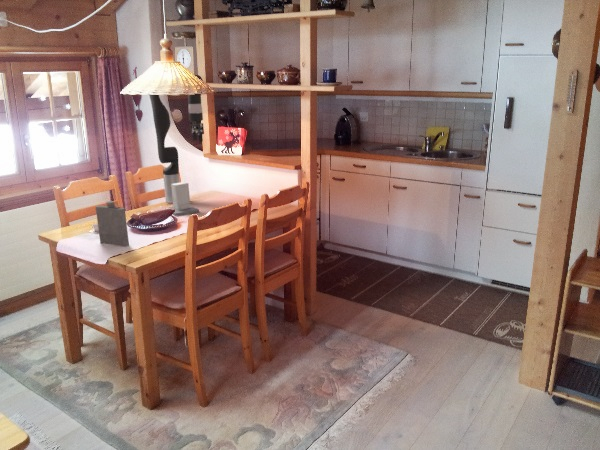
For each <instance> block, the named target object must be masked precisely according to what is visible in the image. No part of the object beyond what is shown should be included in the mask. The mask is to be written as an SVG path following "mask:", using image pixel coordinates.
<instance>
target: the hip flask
mask: <svg viewBox="0 0 600 450" xmlns="http://www.w3.org/2000/svg"><path fill="white" fill-rule="evenodd" d="M105 203H106V205H96V206H95V213H96V219H97V223H98V229H99V231H98V232H99V233H98V234H99V242H100V244H103V245H104V244H105V245H115V246H119V247H129V246H130V242H129V233H128V232H129V231H128V225H127V217H126V208H125V207H121V206H118V205H116V202H115V201H114V200H113V201H112V200H111V201H106V202H105Z"/></svg>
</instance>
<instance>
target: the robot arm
mask: <svg viewBox="0 0 600 450" xmlns="http://www.w3.org/2000/svg"><path fill="white" fill-rule="evenodd" d="M194 75H195V76H197V77H198V78H199V79H201V80H202V81H203V78H202V77H201V75H199V74H194ZM203 82H204V81H203ZM148 95H149V94H148ZM201 96H202V93H201V94H195V95H188V94H187V102H188V107H187V108H188V120H189V127H190V129H189V131H190V133H191V134H192V141H197V140H198V142H199V143H202V142H203V135H204V134H205V130H204V128H205V127H204V123H202V122H201V121H203V120H204V117H203V116H204V115H203V107H202V106H203V105H202V97H201ZM149 99H150V104H151V109H152V115H153V122H154V123H153V124H154V128H155V134H156V143H157V155H158V160H159V161H160V163H161V164H169V163H170V164H169V165H168V166H167V167H165V168H163V170H162V174H163V175H162V177H163V184H164V185H163V186H164V188H163V189H164V199H165V203H167V204H173V197H172V188H171V184H174V183H179V182H180V174H179V172H180V171H179V169H180V168H179V165H180V164H179V152H178V148H177V147H176V146H167V147H165V142H166V141H165V139H166V137H167V134H168V132H169V130H170V128H171V117H170V113H169V111H168V109H167V107H166V106H165V105H164V103H163V102H162V100H161V98H160V95H149Z"/></svg>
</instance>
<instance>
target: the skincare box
mask: <svg viewBox="0 0 600 450" xmlns="http://www.w3.org/2000/svg"><path fill="white" fill-rule="evenodd" d="M189 186H190V185H189V183H188V182H186V181H179V183H174V184H171V188H172V197H173V203H172V205H173V206H174V209H176V210H178V211H179V210H183V209H188V208H191V206H192V205H191V199H190V188H189ZM190 205H191V206H190ZM173 206H172V207H173Z"/></svg>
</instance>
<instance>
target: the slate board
mask: <svg viewBox="0 0 600 450" xmlns="http://www.w3.org/2000/svg"><path fill="white" fill-rule="evenodd" d="M190 206H191V208H188V209H183V210H179V211H178V210H176V209H175V212H174V213H173V214H172V215H173V216H174V217H178V216H185V215H190V214H196V213H200V209H198V208H197V207H195V206H193V205H191V204H190ZM166 208H170V209H174V206H167V207H166Z"/></svg>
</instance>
